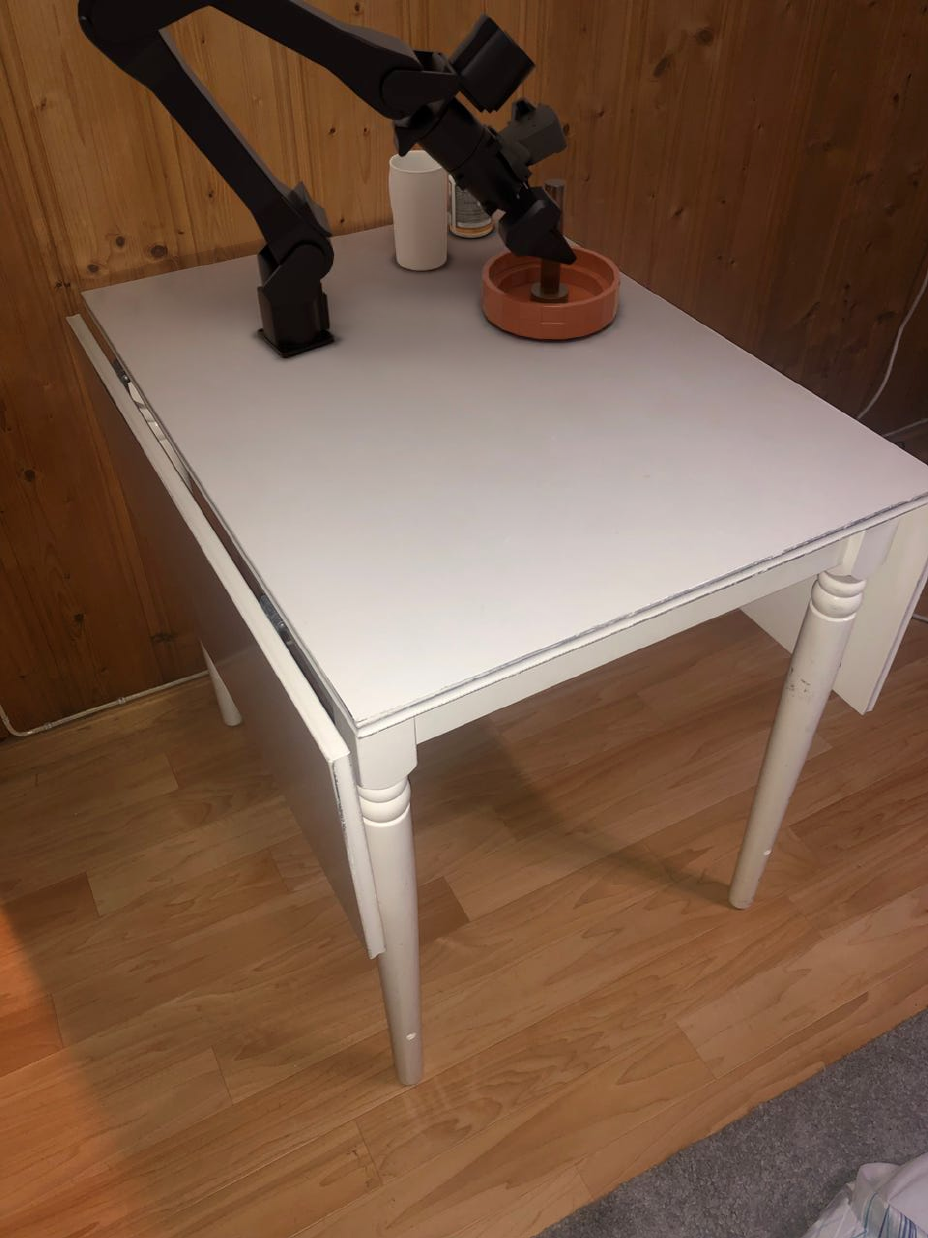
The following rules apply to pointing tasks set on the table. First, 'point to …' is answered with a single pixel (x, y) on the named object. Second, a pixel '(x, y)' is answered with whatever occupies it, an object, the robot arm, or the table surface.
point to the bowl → (583, 314)
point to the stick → (550, 270)
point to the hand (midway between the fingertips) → (561, 243)
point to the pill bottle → (467, 213)
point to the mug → (419, 210)
